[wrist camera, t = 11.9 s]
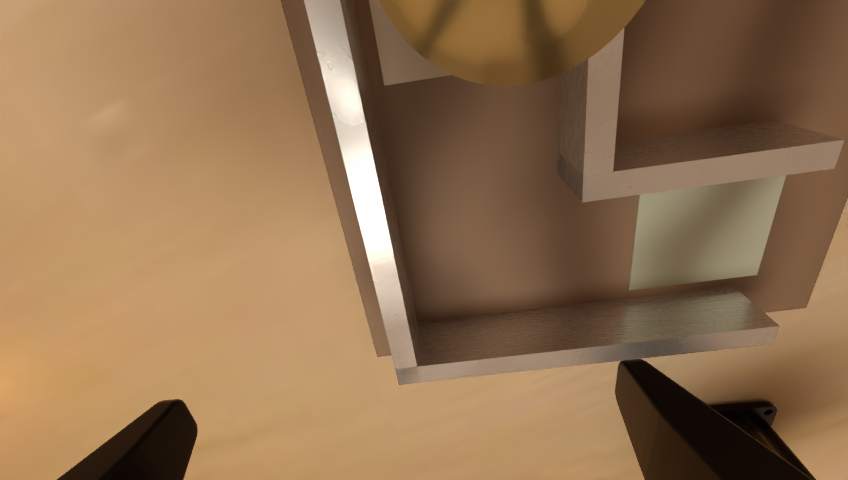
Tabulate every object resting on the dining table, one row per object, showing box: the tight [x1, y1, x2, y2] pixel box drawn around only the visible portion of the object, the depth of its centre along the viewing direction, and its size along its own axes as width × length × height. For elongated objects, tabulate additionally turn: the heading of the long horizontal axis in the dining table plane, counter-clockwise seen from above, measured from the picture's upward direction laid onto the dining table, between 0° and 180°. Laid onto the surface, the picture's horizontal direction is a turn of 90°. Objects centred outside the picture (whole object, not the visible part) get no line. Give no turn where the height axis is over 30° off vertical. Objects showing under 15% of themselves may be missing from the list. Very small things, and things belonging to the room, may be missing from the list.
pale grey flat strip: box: [281, 0, 848, 357], centre depth 17 cm, size 22×20×1 cm
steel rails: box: [304, 0, 844, 385], centre depth 15 cm, size 16×18×3 cm
